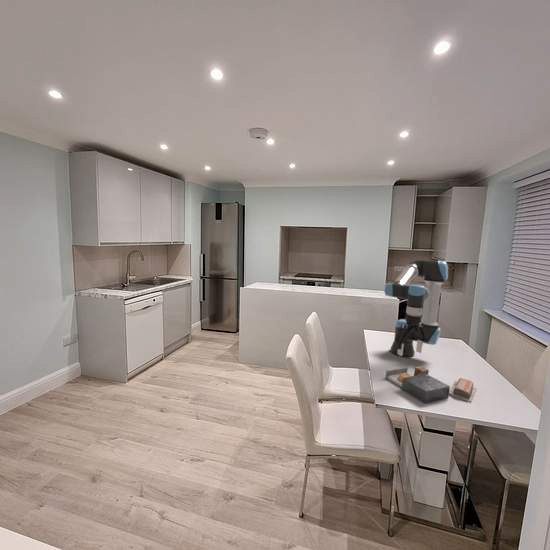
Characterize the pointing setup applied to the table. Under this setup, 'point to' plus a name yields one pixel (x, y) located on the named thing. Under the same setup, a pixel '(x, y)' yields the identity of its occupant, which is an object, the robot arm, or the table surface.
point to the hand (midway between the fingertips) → (409, 353)
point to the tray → (396, 375)
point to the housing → (425, 388)
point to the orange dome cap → (403, 376)
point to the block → (420, 371)
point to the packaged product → (463, 390)
